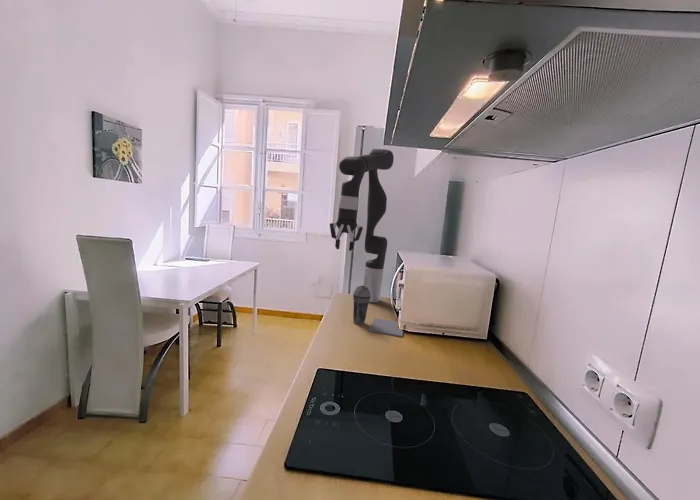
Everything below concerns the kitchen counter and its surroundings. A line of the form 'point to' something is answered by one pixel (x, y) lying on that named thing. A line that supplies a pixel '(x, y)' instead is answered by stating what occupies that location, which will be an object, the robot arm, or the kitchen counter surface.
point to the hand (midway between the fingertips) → (343, 249)
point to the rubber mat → (386, 327)
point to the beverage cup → (360, 303)
